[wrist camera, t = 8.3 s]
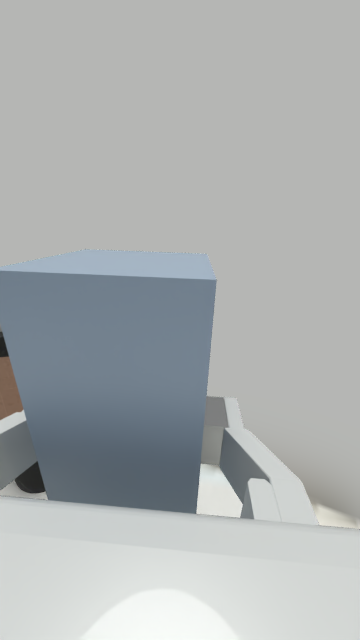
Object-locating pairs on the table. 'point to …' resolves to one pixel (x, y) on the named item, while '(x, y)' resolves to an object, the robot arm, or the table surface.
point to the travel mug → (5, 401)
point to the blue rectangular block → (113, 372)
